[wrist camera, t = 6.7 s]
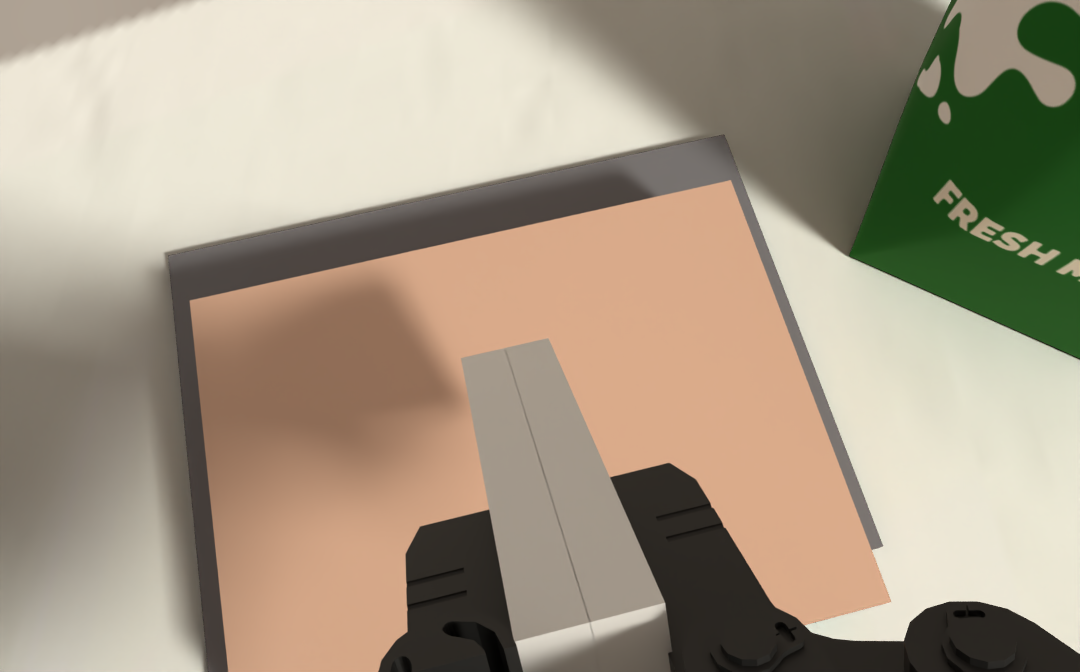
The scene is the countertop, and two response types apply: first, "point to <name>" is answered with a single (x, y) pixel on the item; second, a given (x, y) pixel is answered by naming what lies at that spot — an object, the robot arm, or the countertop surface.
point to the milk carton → (990, 170)
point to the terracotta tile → (447, 427)
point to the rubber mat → (430, 228)
